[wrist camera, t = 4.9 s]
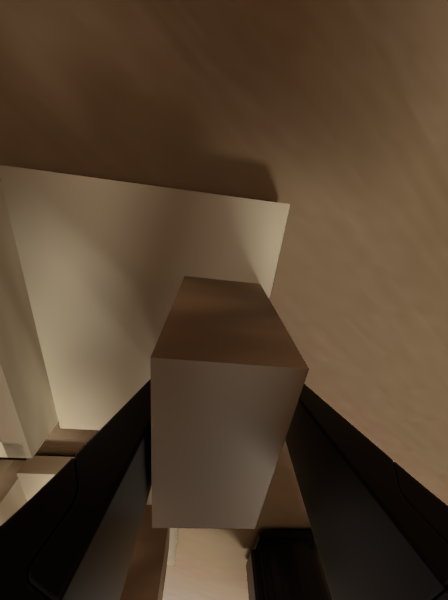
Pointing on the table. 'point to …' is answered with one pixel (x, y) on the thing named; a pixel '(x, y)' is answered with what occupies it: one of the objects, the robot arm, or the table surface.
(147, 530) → the hollow rectangular frame
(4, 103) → the table surface
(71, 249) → the cream rimmed tray
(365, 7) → the table surface
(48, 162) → the table surface
